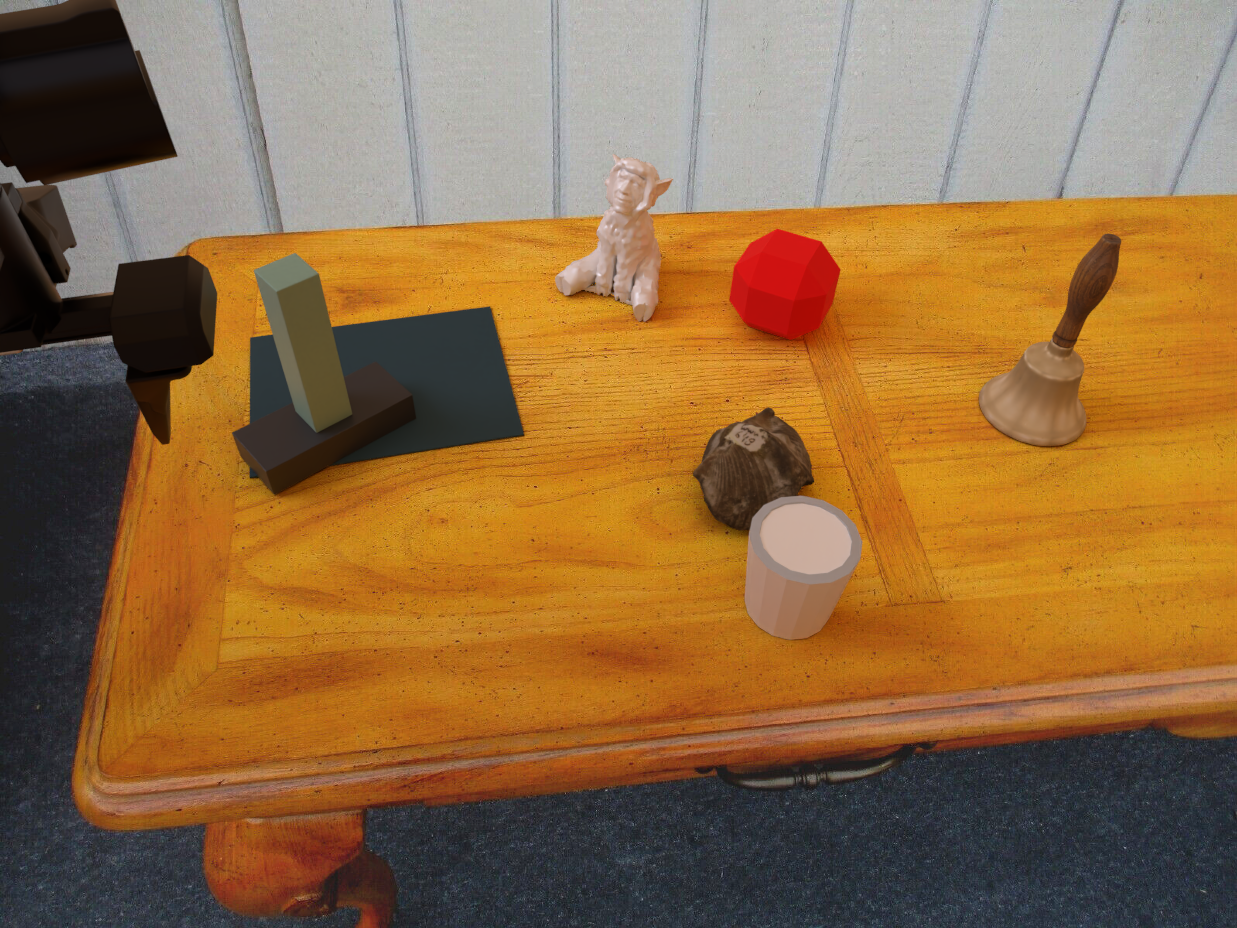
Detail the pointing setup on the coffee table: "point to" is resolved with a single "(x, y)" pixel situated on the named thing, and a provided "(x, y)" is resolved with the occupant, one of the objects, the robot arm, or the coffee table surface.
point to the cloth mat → (414, 379)
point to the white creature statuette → (623, 241)
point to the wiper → (314, 386)
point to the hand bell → (1053, 364)
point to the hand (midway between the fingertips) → (78, 452)
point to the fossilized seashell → (752, 468)
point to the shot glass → (798, 565)
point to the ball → (784, 284)
